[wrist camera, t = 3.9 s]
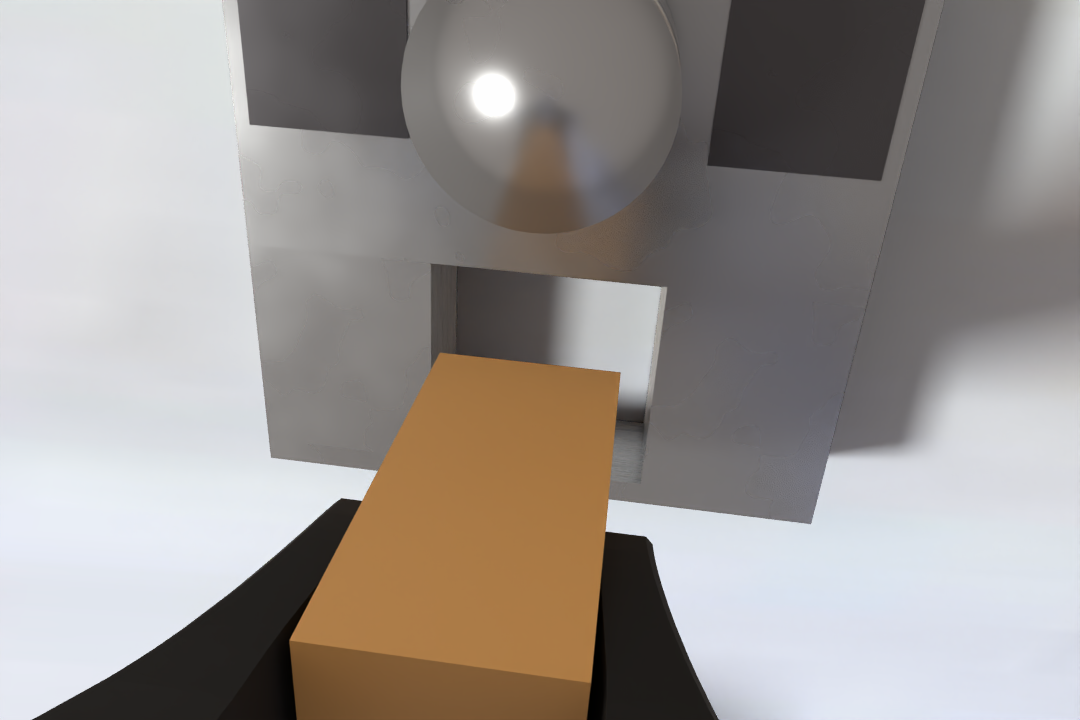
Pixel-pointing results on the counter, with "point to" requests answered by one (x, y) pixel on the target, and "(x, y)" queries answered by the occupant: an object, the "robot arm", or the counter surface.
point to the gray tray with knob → (577, 209)
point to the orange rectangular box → (470, 555)
